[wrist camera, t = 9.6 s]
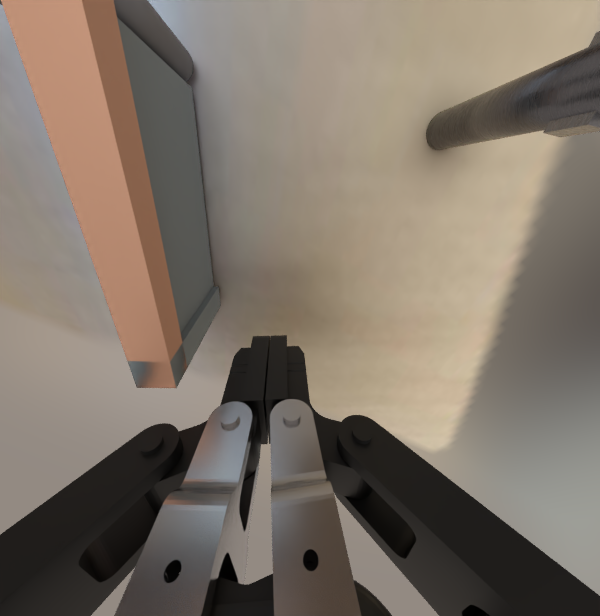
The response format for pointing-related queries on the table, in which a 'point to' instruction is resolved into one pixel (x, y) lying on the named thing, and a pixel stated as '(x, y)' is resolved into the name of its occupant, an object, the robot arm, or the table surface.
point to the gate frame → (528, 105)
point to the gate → (127, 167)
